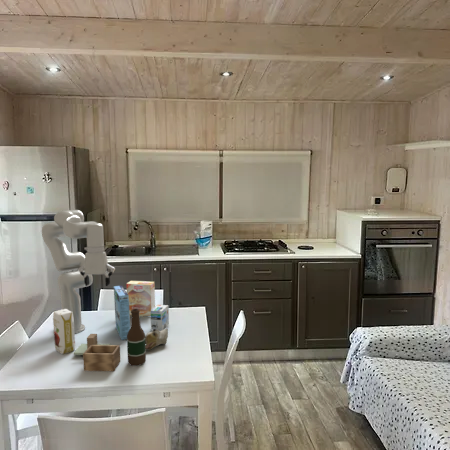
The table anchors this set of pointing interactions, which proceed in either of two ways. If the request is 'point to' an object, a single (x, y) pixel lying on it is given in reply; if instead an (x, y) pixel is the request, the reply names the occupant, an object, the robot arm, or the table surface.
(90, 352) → the crate
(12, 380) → the table surface
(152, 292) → the coffeecake box
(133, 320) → the beer bottle
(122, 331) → the gum box
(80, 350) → the lid
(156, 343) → the ceramic sculpture
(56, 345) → the juice carton
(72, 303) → the robot arm
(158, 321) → the light bulb box
